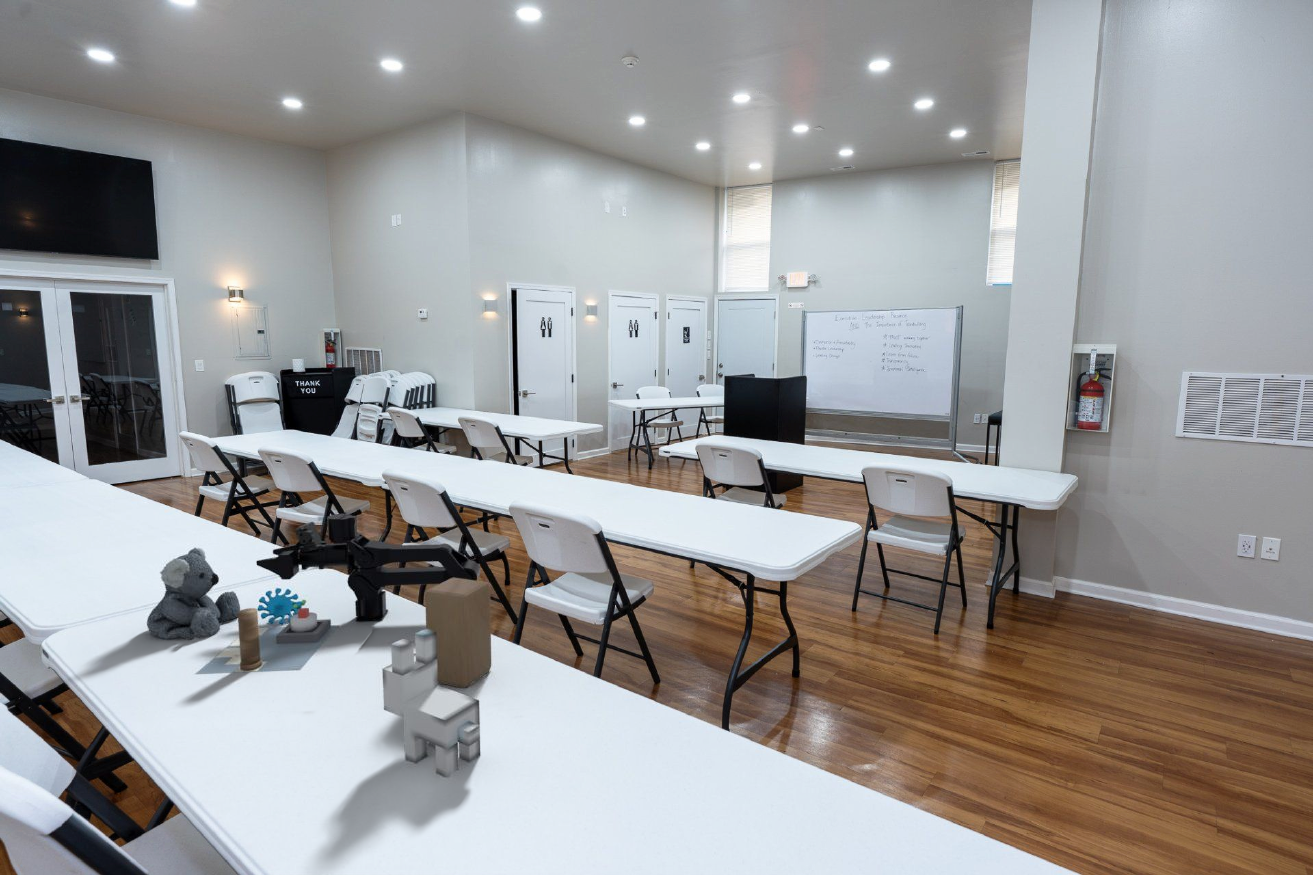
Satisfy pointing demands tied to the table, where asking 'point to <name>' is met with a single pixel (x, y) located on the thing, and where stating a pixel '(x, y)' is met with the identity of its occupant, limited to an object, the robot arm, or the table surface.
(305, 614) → the dome button
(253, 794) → the table surface
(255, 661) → the brown wooden cylinder
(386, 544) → the robot arm
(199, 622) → the koala plush
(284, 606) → the blue spiky piece
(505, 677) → the table surface
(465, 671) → the block
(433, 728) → the toy llama
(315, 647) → the board
